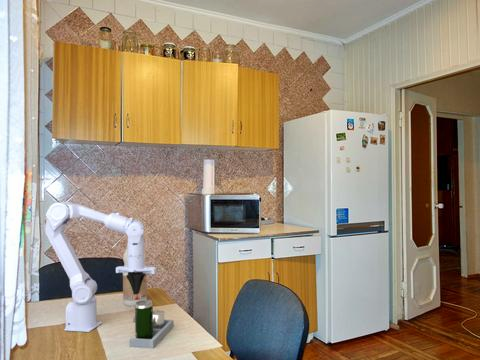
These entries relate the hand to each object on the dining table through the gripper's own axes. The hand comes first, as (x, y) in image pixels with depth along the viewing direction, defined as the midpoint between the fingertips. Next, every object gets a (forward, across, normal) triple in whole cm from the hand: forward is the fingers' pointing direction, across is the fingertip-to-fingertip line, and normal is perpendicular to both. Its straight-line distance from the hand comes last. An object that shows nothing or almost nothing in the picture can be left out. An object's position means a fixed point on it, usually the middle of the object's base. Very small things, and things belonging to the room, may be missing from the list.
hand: (136, 293), depth 129 cm
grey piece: (+10, +10, -9) cm, 17 cm away
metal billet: (+10, +10, -6) cm, 15 cm away
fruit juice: (+11, -11, +21) cm, 26 cm away
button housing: (+10, +1, +3) cm, 11 cm away
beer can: (+11, +9, -14) cm, 19 cm away
